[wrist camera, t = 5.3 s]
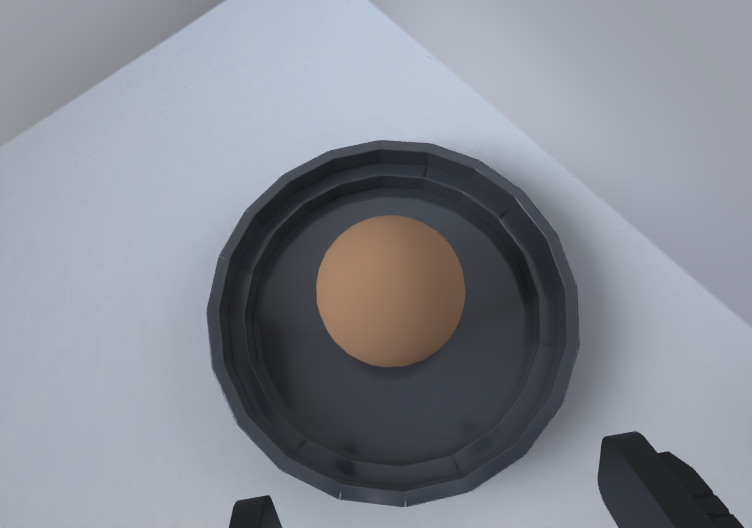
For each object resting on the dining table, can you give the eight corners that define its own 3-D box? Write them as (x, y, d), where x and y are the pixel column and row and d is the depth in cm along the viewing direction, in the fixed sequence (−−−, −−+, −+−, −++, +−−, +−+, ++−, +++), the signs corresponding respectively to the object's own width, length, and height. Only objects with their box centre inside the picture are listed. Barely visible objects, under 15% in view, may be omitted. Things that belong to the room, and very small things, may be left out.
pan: (377, 119, 28) (375, 86, 25) (621, 298, 24) (652, 281, 21) (164, 327, 24) (133, 315, 21) (409, 581, 20) (412, 609, 17)
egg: (447, 383, 22) (476, 365, 14) (319, 365, 23) (280, 338, 15) (458, 260, 24) (488, 187, 16) (340, 246, 25) (315, 168, 17)
